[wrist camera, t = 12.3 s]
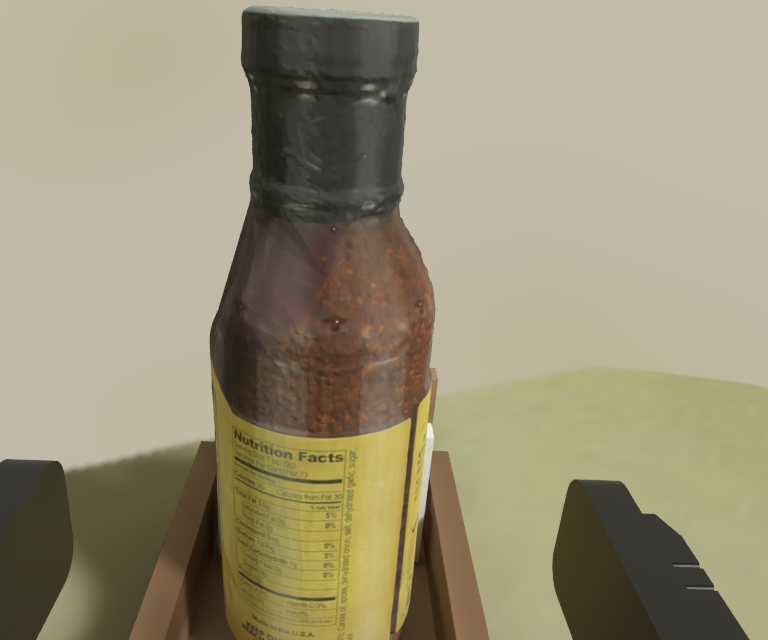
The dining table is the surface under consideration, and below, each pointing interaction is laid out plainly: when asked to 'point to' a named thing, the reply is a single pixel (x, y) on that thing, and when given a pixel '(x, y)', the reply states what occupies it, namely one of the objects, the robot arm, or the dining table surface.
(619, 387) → the dining table surface
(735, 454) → the dining table surface
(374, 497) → the sauce bottle
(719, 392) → the dining table surface
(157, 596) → the wooden tray
